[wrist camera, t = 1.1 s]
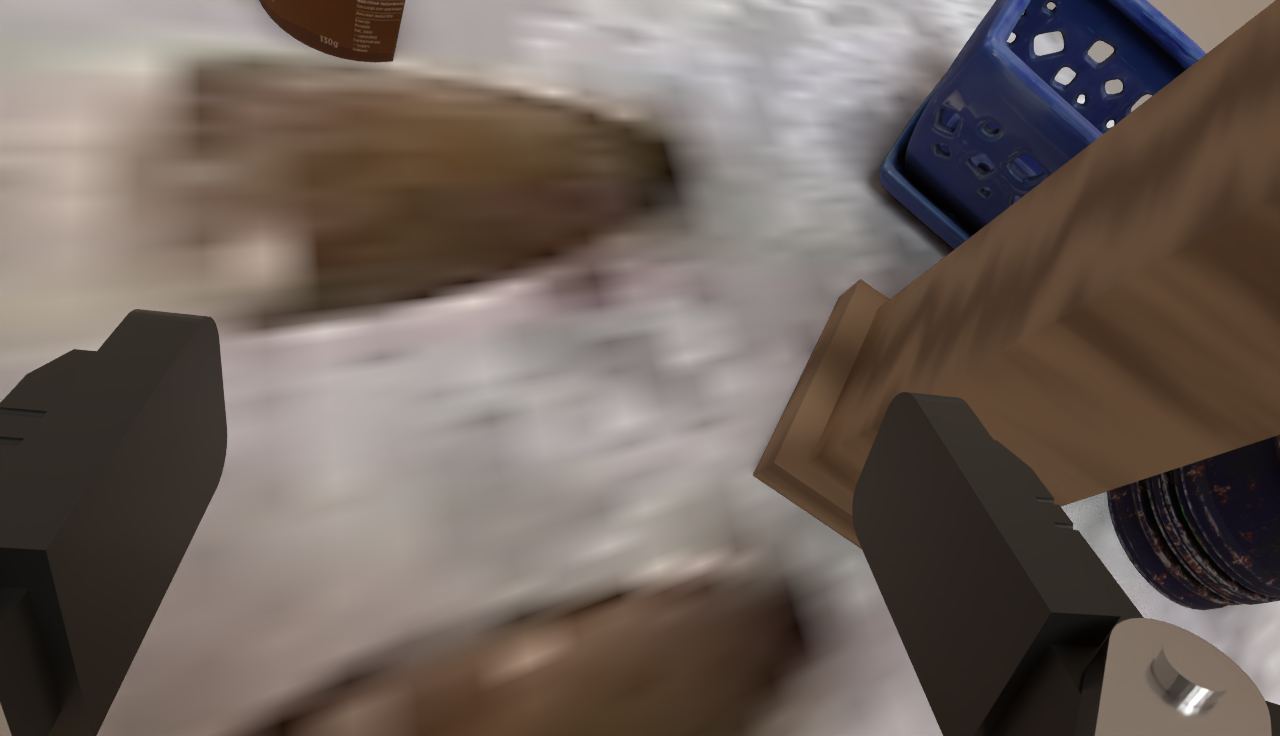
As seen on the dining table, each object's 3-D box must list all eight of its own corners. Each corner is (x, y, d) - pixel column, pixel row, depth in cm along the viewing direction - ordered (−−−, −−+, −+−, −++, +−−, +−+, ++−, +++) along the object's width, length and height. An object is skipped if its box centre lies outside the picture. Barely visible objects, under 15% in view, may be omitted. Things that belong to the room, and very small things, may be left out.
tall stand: (926, 592, 40) (2249, 246, 13) (753, 475, 40) (1766, -155, 12) (988, 400, 46) (1976, -110, 19) (839, 296, 46) (1643, -390, 18)
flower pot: (1076, 201, 56) (1249, 78, 46) (1014, 333, 49) (1200, 223, 39) (921, 72, 56) (1060, -80, 46) (837, 187, 49) (978, 37, 39)
